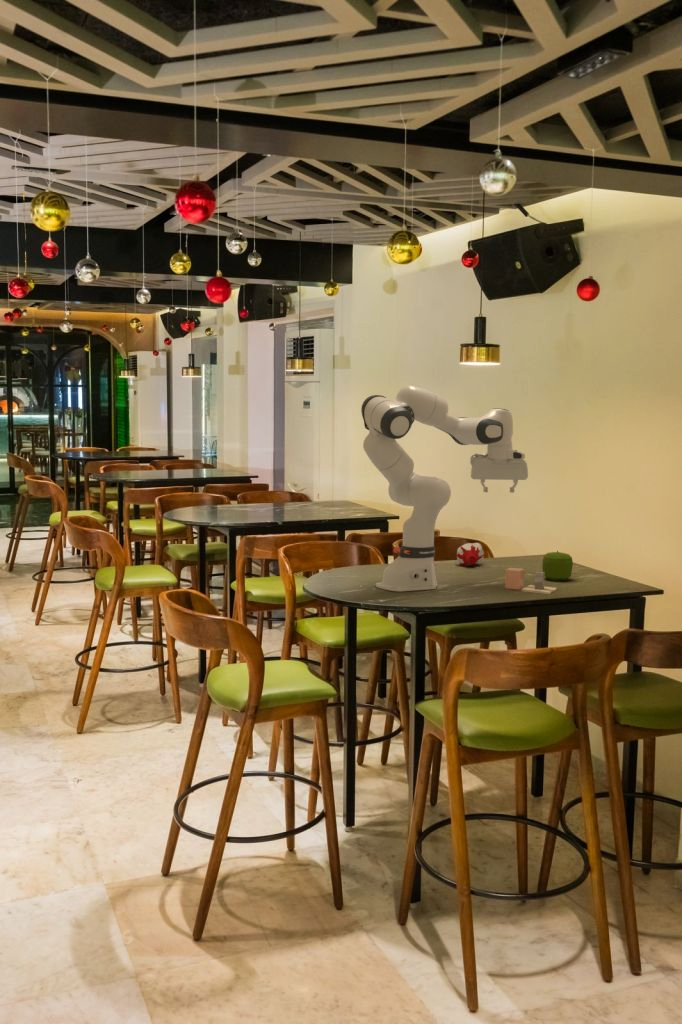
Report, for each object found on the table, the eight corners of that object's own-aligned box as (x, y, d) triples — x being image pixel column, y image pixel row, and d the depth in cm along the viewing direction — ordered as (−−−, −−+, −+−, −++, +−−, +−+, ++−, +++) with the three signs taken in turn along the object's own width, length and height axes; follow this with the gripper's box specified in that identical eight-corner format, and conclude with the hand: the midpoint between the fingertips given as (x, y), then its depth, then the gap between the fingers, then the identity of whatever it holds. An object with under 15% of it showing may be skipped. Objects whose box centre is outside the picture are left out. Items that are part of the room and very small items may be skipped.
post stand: (549, 594, 312) (550, 575, 311) (520, 591, 316) (521, 573, 316) (557, 589, 320) (558, 571, 320) (529, 586, 325) (530, 569, 325)
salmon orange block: (519, 589, 319) (519, 571, 319) (504, 588, 322) (505, 569, 321) (523, 587, 324) (524, 568, 323) (509, 586, 326) (510, 567, 326)
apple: (576, 581, 336) (578, 552, 335) (549, 582, 334) (549, 552, 333) (564, 576, 347) (565, 548, 346) (537, 577, 345) (538, 548, 344)
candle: (481, 561, 379) (486, 571, 364) (453, 560, 379) (457, 571, 364) (482, 540, 377) (487, 549, 362) (454, 539, 377) (458, 549, 362)
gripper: (471, 453, 326) (470, 492, 328) (529, 454, 325) (528, 493, 327) (469, 453, 333) (469, 491, 334) (526, 453, 332) (525, 491, 333)
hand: (498, 492), depth 330 cm, fingers open, 8 cm apart
